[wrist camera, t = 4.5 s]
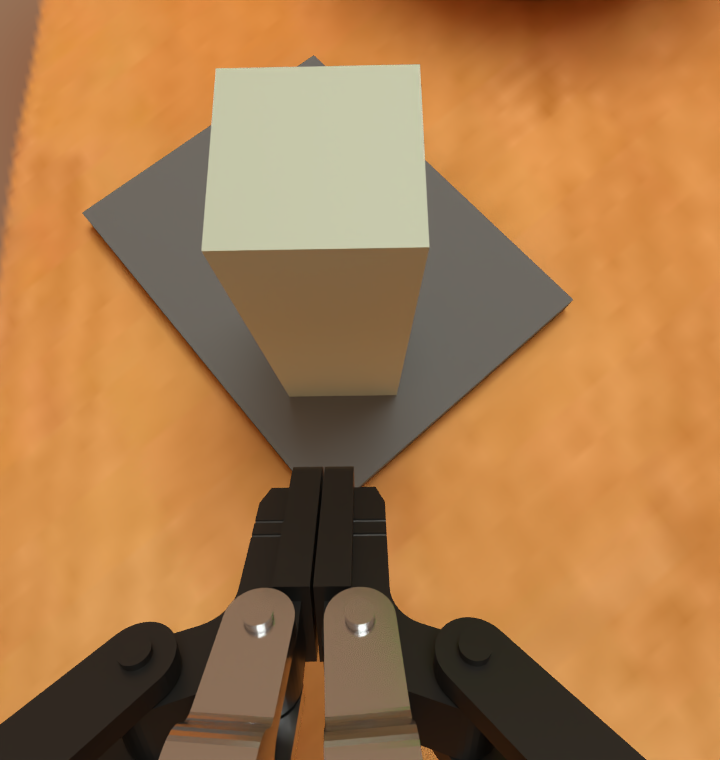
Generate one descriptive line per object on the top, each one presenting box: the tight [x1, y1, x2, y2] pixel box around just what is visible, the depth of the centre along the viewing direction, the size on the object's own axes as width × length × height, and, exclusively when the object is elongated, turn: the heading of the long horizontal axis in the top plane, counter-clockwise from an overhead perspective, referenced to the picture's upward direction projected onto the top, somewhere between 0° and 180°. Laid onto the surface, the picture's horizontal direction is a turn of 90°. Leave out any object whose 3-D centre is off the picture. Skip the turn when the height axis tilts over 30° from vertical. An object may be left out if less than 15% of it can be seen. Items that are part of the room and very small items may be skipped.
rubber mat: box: [83, 55, 573, 487], centre depth 24 cm, size 18×14×1 cm
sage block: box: [201, 64, 429, 397], centre depth 17 cm, size 4×4×12 cm
